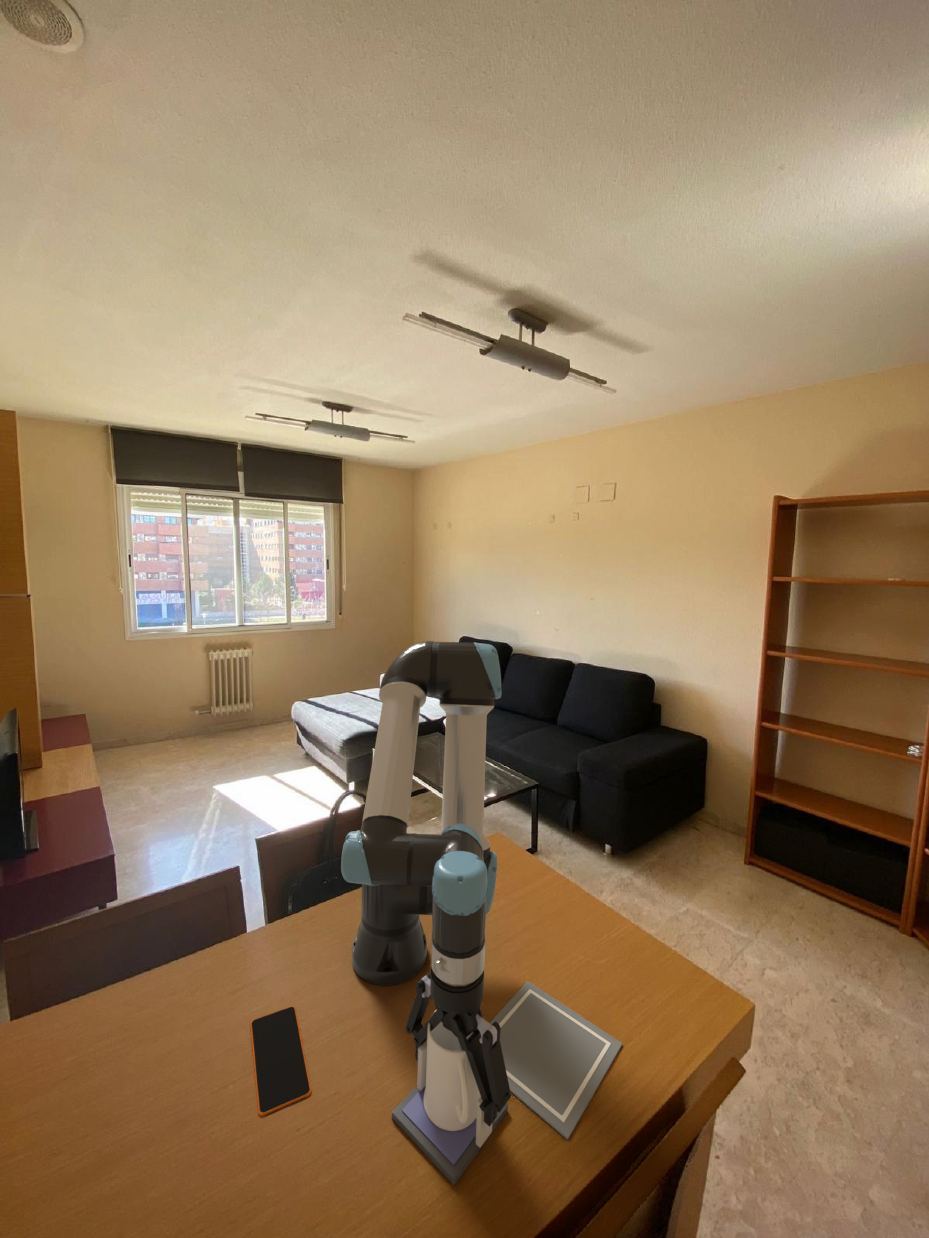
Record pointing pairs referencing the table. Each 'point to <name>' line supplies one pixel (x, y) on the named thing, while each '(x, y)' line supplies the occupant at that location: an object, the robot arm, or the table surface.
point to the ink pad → (439, 1136)
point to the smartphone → (279, 1061)
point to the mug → (449, 1082)
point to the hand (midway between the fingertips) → (453, 1108)
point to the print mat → (552, 1056)
